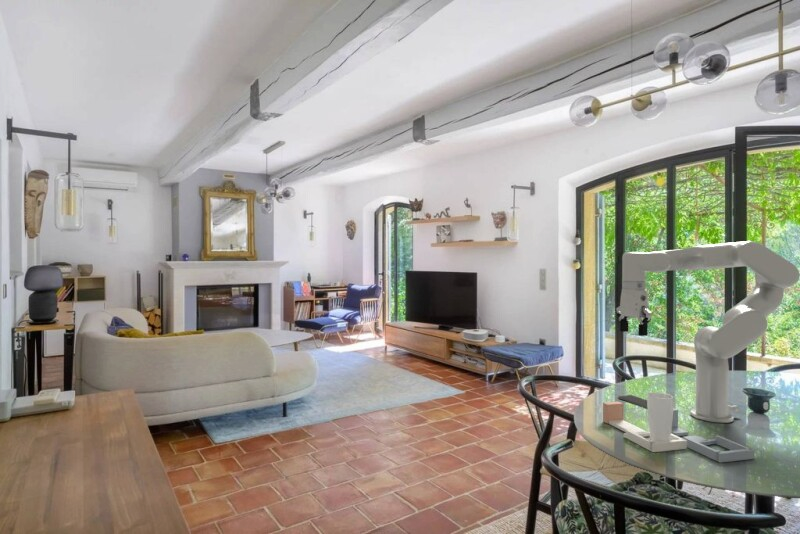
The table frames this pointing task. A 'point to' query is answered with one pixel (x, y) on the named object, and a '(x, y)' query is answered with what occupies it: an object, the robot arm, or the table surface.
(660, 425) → the drinking glass
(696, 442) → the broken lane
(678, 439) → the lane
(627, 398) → the smartphone
